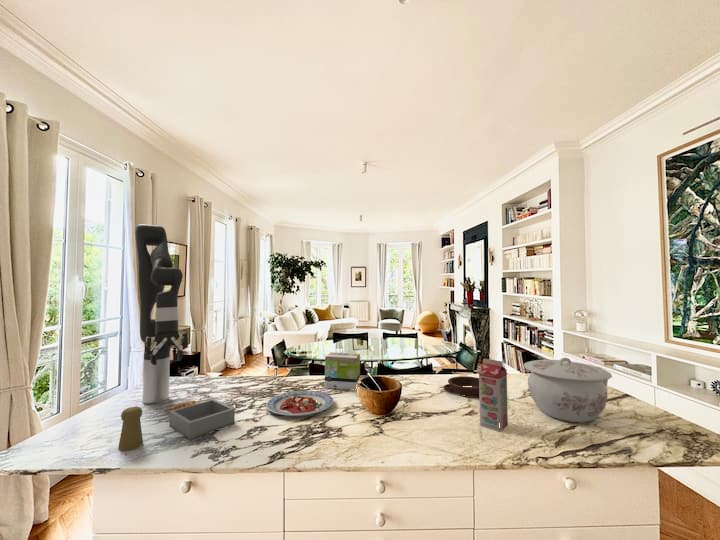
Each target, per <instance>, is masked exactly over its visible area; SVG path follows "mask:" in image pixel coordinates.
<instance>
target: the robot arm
mask: <svg viewBox="0 0 720 540" xmlns="http://www.w3.org/2000/svg"><path fill="white" fill-rule="evenodd" d="M135 242H136V244H135V245H136V250H137V251H136V252H137V260H138V261H137V265H138V270H137V271H138V291H139V303H140V304H139V305H140V309H139V311H140V312H139V336H140V340H141V342H142V343H144V351H143V373H142V374H143V377H142V403H143V404H156V403H160V402H161V403H163V402H164V401H166V400H168V399H169V396H170V371H171V370H170V367H171V366H170V365H171V363H170V362H171V347H175V349H176V361H178V362H180V361H182V359H183V358H184V357H183V356H184V355H183V354H184V353H183V351H184V350H185V349H187V348H188V347H189V343H188V333H186V332H181V333H179V318H180V317H179V310H178V297H179V291H180V288H181V284H182V282H183V277H184V274H183V271H182V270H181V268H178V267H174V263H173V260H172V258H171V255H170V251H169V245H168V237H167V232H166V229H165V227H163V226H162V225H155V224H145V223H141V224H140V223H139V224H138V225H136V228H135ZM147 246H152V247H154V249H153V250H152V251H151V253H149V250H148V247H147ZM165 286H167V287H168V286H170V289H169V290H166V291H164V290H165ZM155 306H156V307H155ZM154 307H155V308H156V309H155V314H154V315H155V318H153V319H152V311H153V308H154ZM179 338H180V340H181V343H180V342H178V339H179ZM154 342H156V343H155V344H154V346H153V347H152V343H154Z"/></svg>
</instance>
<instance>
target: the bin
mask: <svg viewBox="0 0 720 540" xmlns="http://www.w3.org/2000/svg"><path fill="white" fill-rule="evenodd" d="M235 412H236V410H235V407H233V406H230V405H228V404H226V403H223V402H221V401H219V400H217V399H215V398H212V399H207V400H205V401H201V402H198V403H197V402H196V404H194V405H190V406H186V407H183V408H179V409H176V410H172V411H170V415H169V425H168V426H169V427H170V428H171V429H172V430H174V431H176V432H177V433H179V434H180V435H182V436H183V437H184V438H186V439H187V440H192V439H195V438H199V437H200V436H203V435H206V434H209V433H212V432H215V431H218V430H220V429H223V428H226V427H229V426H232V425H234V424H235V414H236V413H235ZM231 424H232V425H231Z"/></svg>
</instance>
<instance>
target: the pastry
mask: <svg viewBox="0 0 720 540" xmlns="http://www.w3.org/2000/svg"><path fill="white" fill-rule="evenodd" d="M194 404H197V401H196V400H192V401H184V402H182V403H180V404H178V405H176V406H173V407H172V408H170V409H169V411H168V416H170V411H172V410H176V409H179V408H183V407H186V406H190V405H194Z"/></svg>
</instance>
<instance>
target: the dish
mask: <svg viewBox="0 0 720 540" xmlns="http://www.w3.org/2000/svg"><path fill="white" fill-rule="evenodd" d="M463 386H472V387H463ZM443 390H444V391H445V392H450V393H454V394H455V393H457V394H456V395H458V394H460V395H459V396H461V395H465V396H464V397H466V396H479V377H474V376H467V375H466V376H462V375H461V376H453V377H449V378H448V379H447V384H444V385H443Z"/></svg>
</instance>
